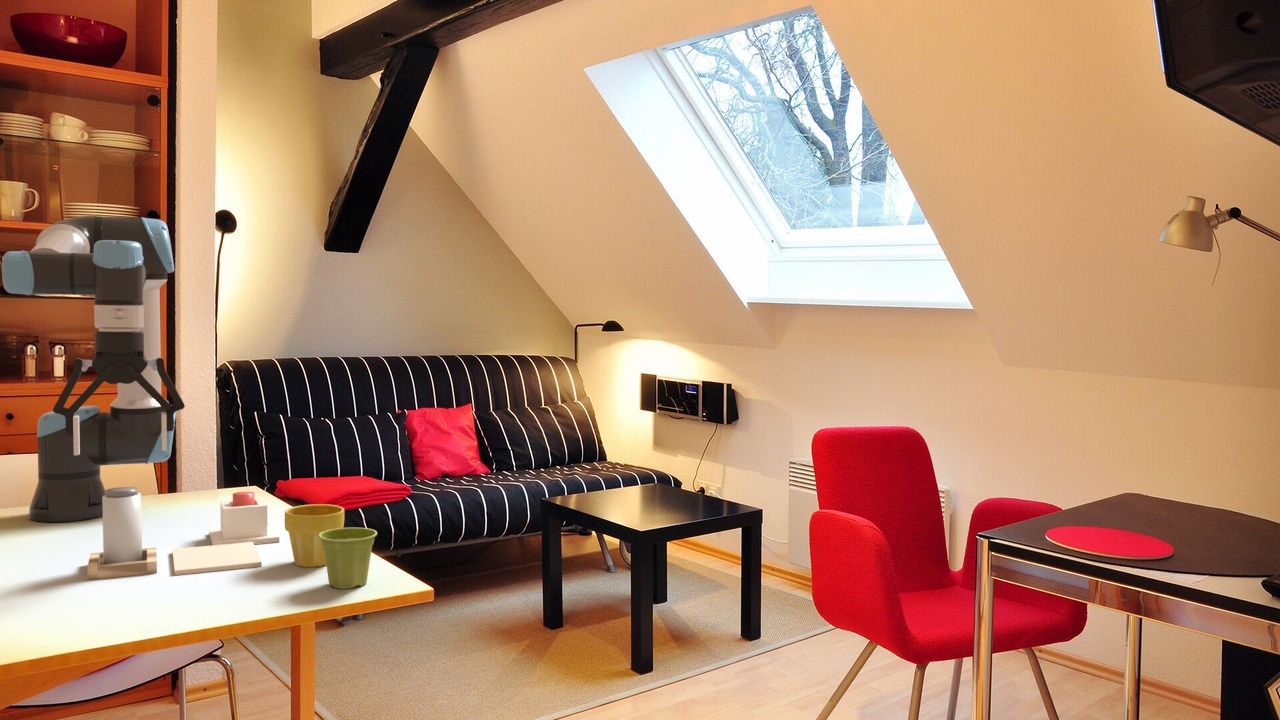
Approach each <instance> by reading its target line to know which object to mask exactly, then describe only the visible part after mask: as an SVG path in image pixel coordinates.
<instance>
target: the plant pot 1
mask: <svg viewBox="0 0 1280 720" xmlns="http://www.w3.org/2000/svg"><path fill="white" fill-rule="evenodd" d="M344 524H345V508H344V507H342V506H339V505H336V504H335V505H334V504H324V503H322V504H321V503H318V504H317V503H315V504H304V505H297V506H292V507H288V508H287V509H286V510H285V511H284V529H285V531H287V532H288V535H289V540H290V546H291V550H292V551H291V552H292V556H293V560H294V561H293V562H294V564H295V565H296V566H298V567H301V566H302V567H303V568H317V567H316V566H320V567H324V566H323V565H325V566H327V565H326V559H325V552H324V547H323V546H322V541H321V539H320V538H319V534H320V533H321V532H324V531H327V530H332V529H338V528H345V525H344Z"/></svg>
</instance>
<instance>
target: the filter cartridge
mask: <svg viewBox="0 0 1280 720" xmlns="http://www.w3.org/2000/svg"><path fill="white" fill-rule="evenodd" d="M105 492H106V495H104V496H102V506H103V516H102V541H103V542H102V546H103V547H102V548H103V555H104V564H113V563H124V562H135V561H142V549H143V532H142V531H143V528H142V527H143V523H142V522H143V521H142V493H141V492H139V488H138V487H135V486H119V487H112V488H108V489H105Z"/></svg>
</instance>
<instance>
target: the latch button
mask: <svg viewBox="0 0 1280 720" xmlns="http://www.w3.org/2000/svg"><path fill="white" fill-rule="evenodd" d="M254 499H255V492H254V491H237V492H234V493H233V492H232V500H233V507H236V506H249V505H254Z"/></svg>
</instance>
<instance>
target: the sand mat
mask: <svg viewBox="0 0 1280 720" xmlns="http://www.w3.org/2000/svg"><path fill="white" fill-rule="evenodd" d="M172 561H173V571H174V576H179V575H180V576H181V575H190V574H199V573H208V572H209V573H210V572H218V571H219V572H220V571H228V570H229V571H231V570H242V569H249V568H258V567H259V568H260V567H262V563H263V562H262V560H261V557H260V555H259V553H258V551H257V547H256V546H255V544H254V543H253V542H243V543H232V544H221V545H212V544H211V545H202V546H190V547H181V548H180V547H178V548H172Z"/></svg>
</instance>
